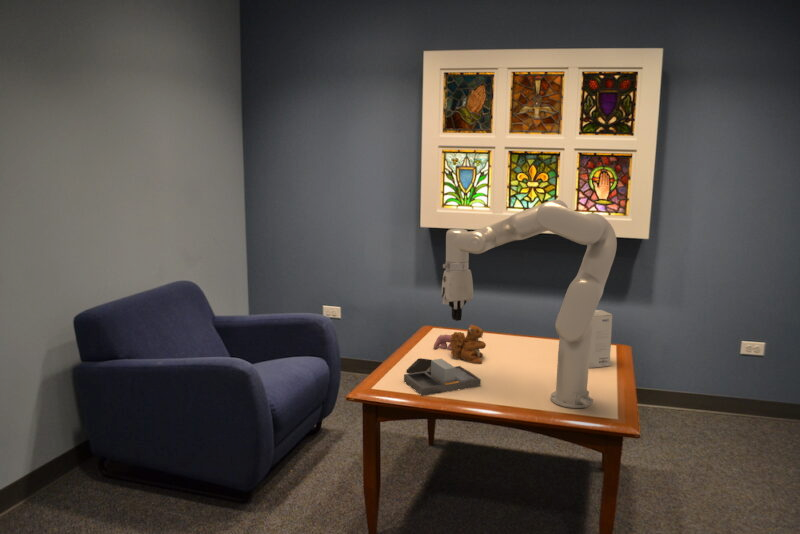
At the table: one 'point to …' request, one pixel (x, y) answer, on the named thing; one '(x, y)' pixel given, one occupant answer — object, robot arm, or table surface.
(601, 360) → the grey carton box
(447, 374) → the gray rectangular block
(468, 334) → the stuffed squirrel
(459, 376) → the gray divided tray
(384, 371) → the table surface
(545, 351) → the table surface
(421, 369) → the phone
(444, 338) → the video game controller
